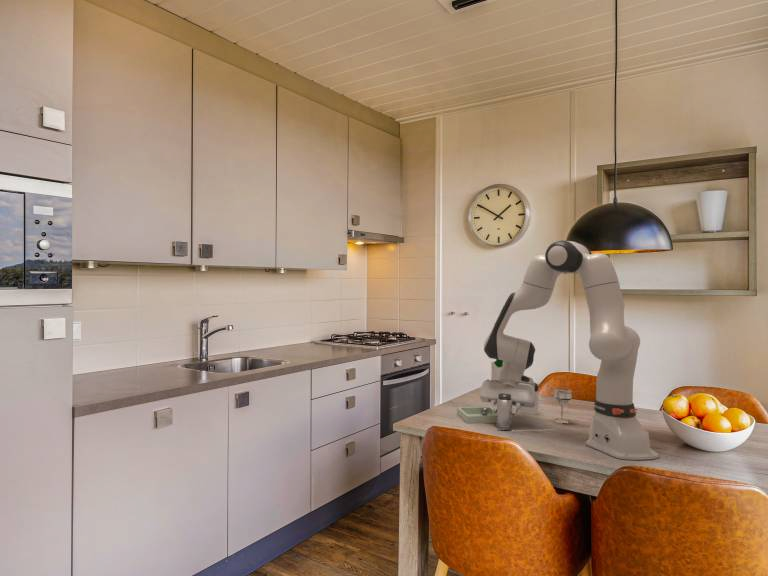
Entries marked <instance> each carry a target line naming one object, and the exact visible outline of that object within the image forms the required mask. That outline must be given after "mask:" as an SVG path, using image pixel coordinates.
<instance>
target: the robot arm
mask: <svg viewBox="0 0 768 576" xmlns="http://www.w3.org/2000/svg"><path fill="white" fill-rule="evenodd" d="M561 274H577V275H579V277H580V279H581V282H582V286H583V291H584V294H585V299H586V304H587V308H588V313H589V326H590V327H589V333H590V337H589V342H588V348H589V351H590V353H591V354H592V355H593V356H594V357H595V358H596V359H598V360H600V365H599V369H598V371H597V375H596V385H595V386H596V389H595V391H596V392H595V393H596V394H595V396H596V397H595V399H594V403H593V405H594V408H593V409H594V415H593V417H592V418H591V421H590V427H589V436H588V439H587V440H586V441H585V445H587V446H589V447H591V448H593V449H596V450H597V451H600V452H602V453H605V454H606V455H609V456H611V457H614V458H616V459H619V460H631V461H637V460H638V461H639V460H641V461H643V460H645V461H646V460H654V459H658V458H659V457H660V456H659V453H658V452H657V451H655V450H654V449H652V448H651V443H650V433H649V431H647V430H645V428H644V427H643V425H642V424H641V423H640V421H639V420H638V418H637V413H638V408H637V409H636V407H635V403H634V402H633V401H634V400H633V398H634V396H633V395H634V393H633V392H634V376H635V370H636V367H637V361H638V360H637V359H638V354H639V348H640V344H641V338H640V335H639V334H638V332H637V331H636V330H635V329H634V328H631V327H629V326H627V325H625V311H624V310H625V302H624V298H623V297H624V296H623V294H622V289H621V286H620V282H619V278H618V275H617V272H616V269H615V267H614V265H613V262H612V260H611V258H610V257H609V256H608V255H607V254H604V253H600V252H599V253H592V251H591V250H590V249H589V248H588V247H587V246H586V245H585V244H582V243H578V242H576V241H571V240H563V239H562V240H557V241H555V242H553V243H551V244H550V245H549V246H548V247H547V249H546V251H545V254H538V255H535V256H534V257H533V258H532V259H531V261H530V262H529V265H528V266H527V269H526V272H525V274H524V276H523V280H522V283H521V286H520V287H519V289H518V290H517V291H515V292H512V293H510V294H509V296H508V297H507V299H506V301H505V302H504V305H503V306H502V309H501V310H500V313H499V315H498V317H497V319H496V321H495V323H494V324H493V327H492V329H491V332H490V333H489V334H488V336H486V339H485V341H484V344H483V351H484V353H485V355H486V356H487V357H488V358H489V359H493V360H496V359H497V360H498V359H499V360H503V364H502V365H503V368H502V370H501V372H500V377H499V380H491V378H489V379H486V380H484V381H483V382H482V383H481V389H480V392H479V393H478V394H479V398H480V401H481V402H483V403H490V404H491V405H492V406H491V407H492V408H493V410H492V411H493V413H497V398H498V394H501V393H505V394H510V395H511V399H512V406H515V407H514V408H512V411H511V414H512V416H515V417H516V416H517V413H518V410H520V409H521V406H523V407H531V408H533V407H534V406H535V405H536V394H535V385H534V383H535V382H534V379H533V378H531V377H529V376H527V375H525V371H526V370H528V369H530V367H532V365H533V362H534V358H535V352H536V348H535V347H536V346H535V345H534V344H533V342H532V341H529V340H527V339H523V338H519V337H515V336H511V335H507V334H505V333H504V330H505V329H506V326H507V325H508V324H509V323H508V322H509V320H510V318H511V317H512V316H513V314H515V313H517V312H520V311H528V310H536V309H541V308H542V307H544V306H546V305H547V304H548V303H549V302H550V300H551V298H552V295H553V292H554V290H555V289H554V288H555V285H556V282H557V279H558V277H559V276H560V275H561Z"/></svg>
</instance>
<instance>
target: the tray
mask: <svg viewBox="0 0 768 576" xmlns="http://www.w3.org/2000/svg"><path fill="white" fill-rule="evenodd" d="M484 407H486V408H488V410H489V413H488V414H487V415H483V414H482V413H481V409H482V408H484ZM492 410H493V406H463V407H462V406H461V407H460V406H458V407H456V415H458V417H460V418H461V419H462V420H463V421H464V422H465V423H466V424H497V413H493V411H492Z"/></svg>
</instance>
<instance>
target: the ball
mask: <svg viewBox="0 0 768 576" xmlns="http://www.w3.org/2000/svg"><path fill="white" fill-rule="evenodd" d="M483 407H484V408H482V409H481V413H482V414H483V415H487V414H488V413H489V410H488V408H486V407H487V406H483Z"/></svg>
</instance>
